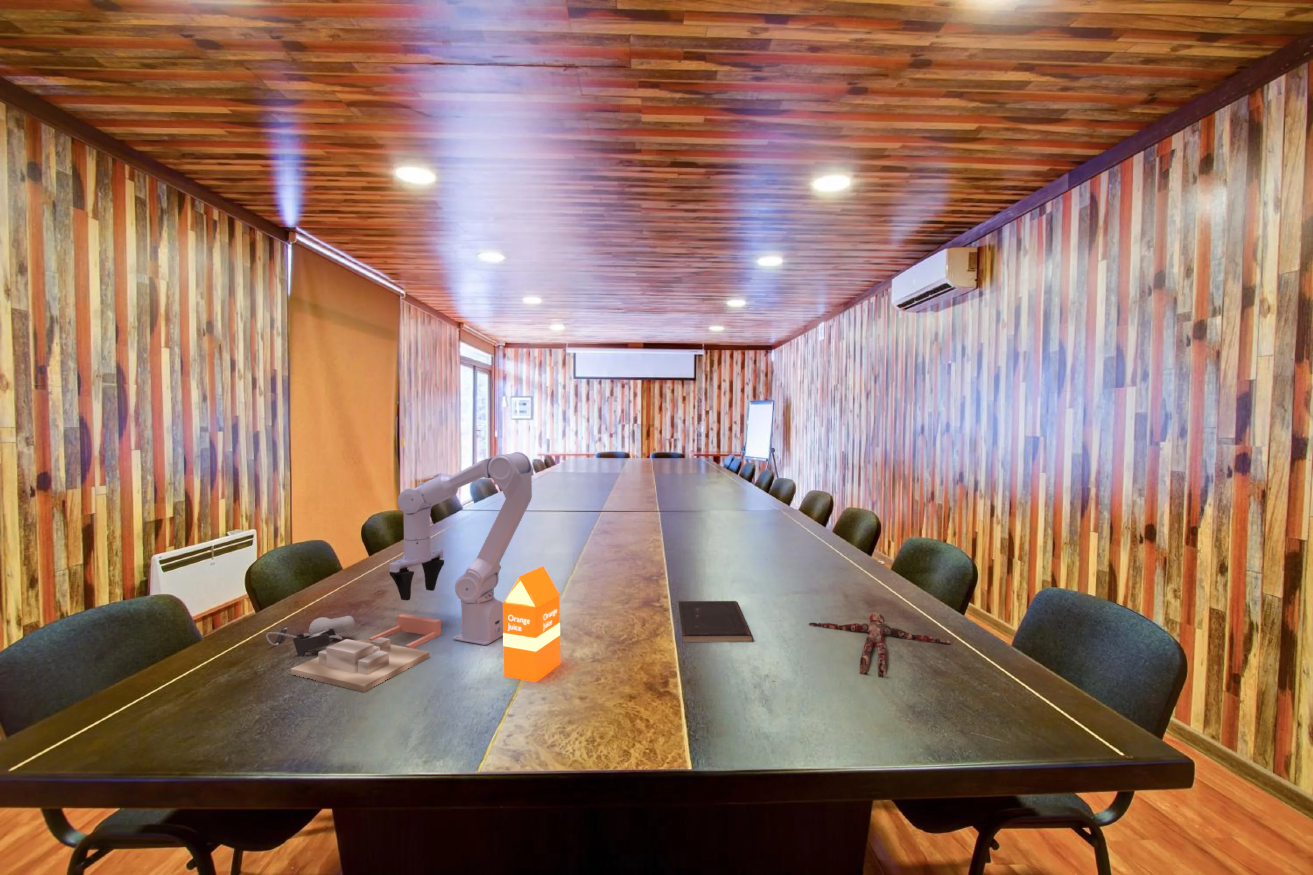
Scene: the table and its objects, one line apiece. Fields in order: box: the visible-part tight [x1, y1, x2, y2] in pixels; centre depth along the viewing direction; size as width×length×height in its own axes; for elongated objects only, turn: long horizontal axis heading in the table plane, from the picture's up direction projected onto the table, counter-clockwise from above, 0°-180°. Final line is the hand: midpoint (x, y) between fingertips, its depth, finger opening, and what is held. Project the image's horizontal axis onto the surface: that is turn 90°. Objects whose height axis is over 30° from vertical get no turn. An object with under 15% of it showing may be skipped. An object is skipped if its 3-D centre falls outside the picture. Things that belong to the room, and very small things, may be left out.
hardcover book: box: [678, 600, 754, 643], centre depth 134 cm, size 16×23×2 cm
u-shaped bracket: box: [368, 613, 442, 649], centre depth 126 cm, size 10×12×3 cm
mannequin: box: [808, 612, 951, 679], centre depth 122 cm, size 26×29×4 cm
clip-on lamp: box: [265, 615, 356, 657], centre depth 123 cm, size 12×6×18 cm
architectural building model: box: [290, 637, 431, 693], centre depth 112 cm, size 16×20×5 cm
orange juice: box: [502, 565, 561, 683], centre depth 109 cm, size 8×9×20 cm
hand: (418, 594), depth 129 cm, fingers open, 7 cm apart
